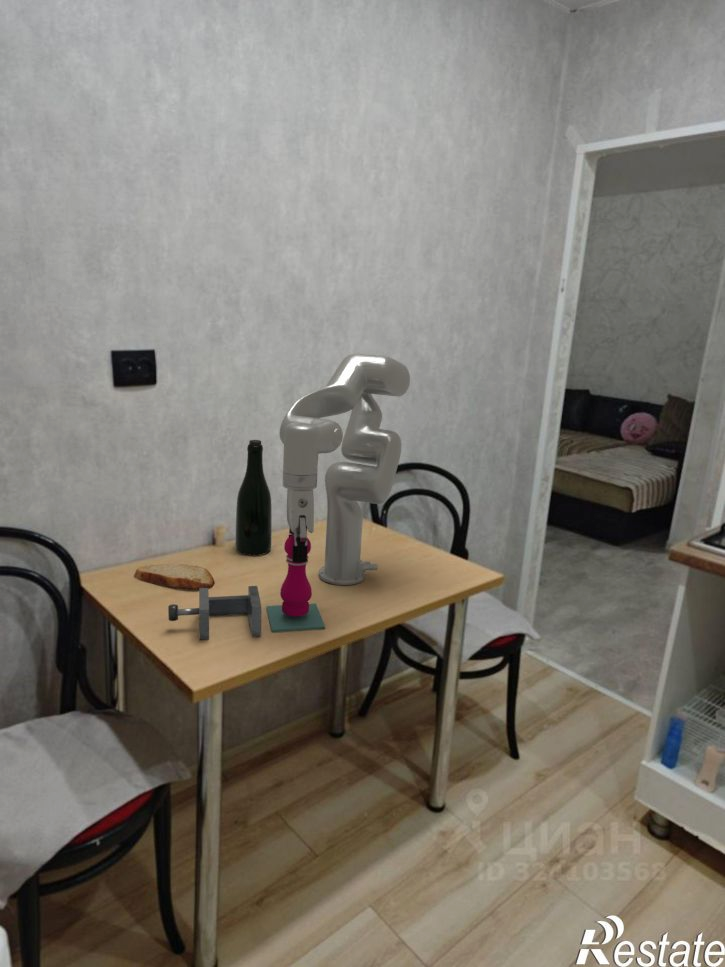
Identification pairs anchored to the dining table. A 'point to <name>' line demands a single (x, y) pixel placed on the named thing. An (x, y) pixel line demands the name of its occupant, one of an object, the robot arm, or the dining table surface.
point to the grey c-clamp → (223, 610)
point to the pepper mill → (295, 583)
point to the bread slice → (176, 576)
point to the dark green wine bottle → (254, 506)
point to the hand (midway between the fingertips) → (297, 555)
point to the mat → (294, 619)
